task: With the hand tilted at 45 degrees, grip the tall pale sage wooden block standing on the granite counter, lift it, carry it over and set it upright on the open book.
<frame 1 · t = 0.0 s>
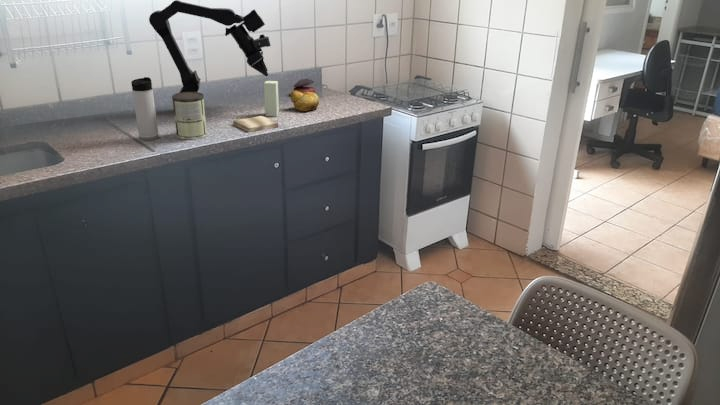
hand: (267, 73, 217), 15 cm above the countertop, tool tilted 35°, fingers open, 9 cm apart
sage block: (272, 114, 217), on the countertop
travel mug: (149, 138, 185), on the countertop
bread roll: (307, 109, 227), on the countertop
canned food: (304, 95, 250), on the countertop
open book: (255, 125, 202), on the countertop
coffee can: (192, 135, 189), on the countertop
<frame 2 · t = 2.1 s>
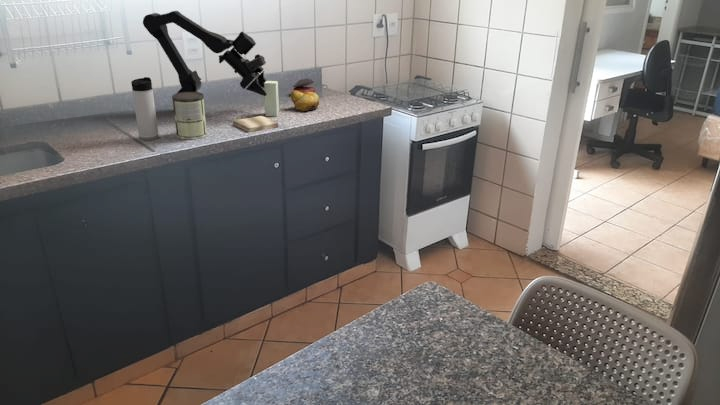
hand: (268, 92, 213), 9 cm above the countertop, tool tilted 45°, fingers open, 9 cm apart
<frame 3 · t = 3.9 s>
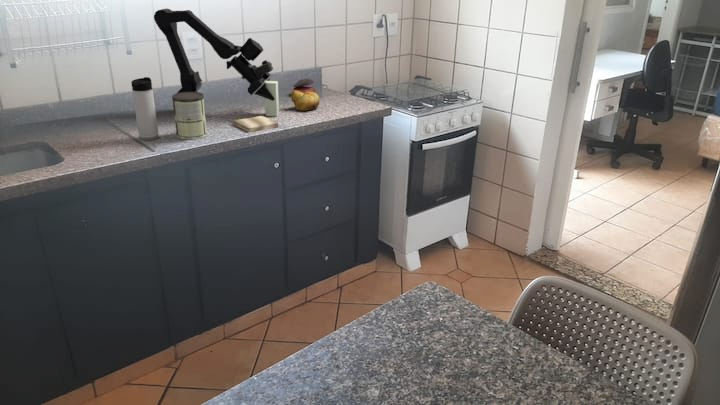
hand: (275, 98, 214), 7 cm above the countertop, tool tilted 45°, fingers closed on sage block, 4 cm apart
sage block: (272, 114, 217), on the countertop, touching gripper
everything else where it was.
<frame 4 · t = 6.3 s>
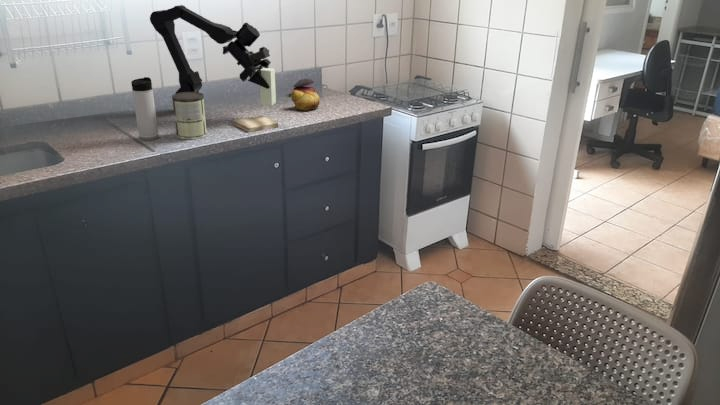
hand: (271, 86, 206), 12 cm above the countertop, tool tilted 45°, fingers closed on sage block, 4 cm apart
sage block: (268, 103, 209), point 6 cm above the countertop, touching gripper
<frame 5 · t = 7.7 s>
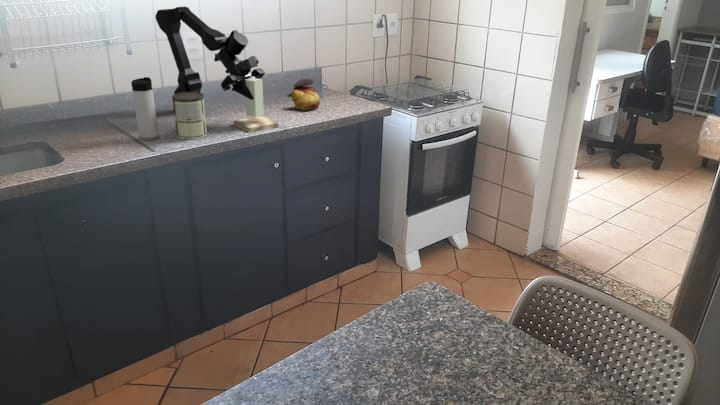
hand: (257, 97, 197), 11 cm above the countertop, tool tilted 45°, fingers closed on sage block, 4 cm apart
sage block: (255, 114, 200), point 4 cm above the countertop, touching gripper
when the fingers open (9 cm above the countertop, at t = 8.7 s): sage block drops 1 cm, resting on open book.
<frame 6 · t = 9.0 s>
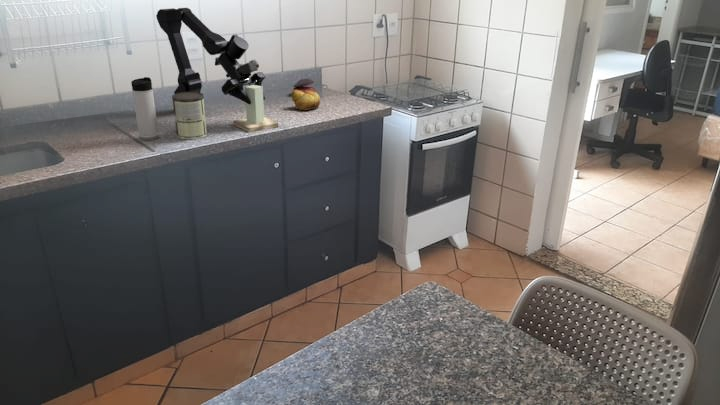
hand: (257, 101, 198), 9 cm above the countertop, tool tilted 45°, fingers open, 7 cm apart
sage block: (255, 121, 201), point 2 cm above the countertop, touching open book
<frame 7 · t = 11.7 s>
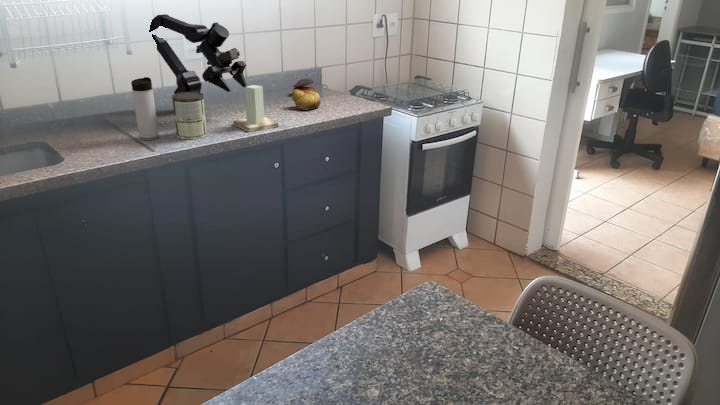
hand: (237, 89, 200), 13 cm above the countertop, tool tilted 45°, fingers open, 9 cm apart
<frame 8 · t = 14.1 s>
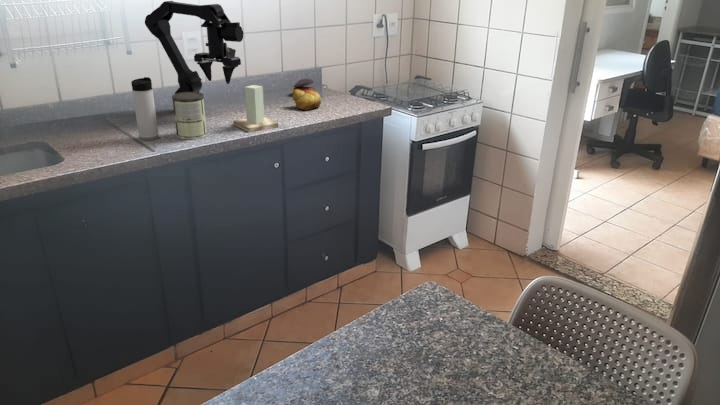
hand: (219, 82, 208), 13 cm above the countertop, tool pointing down, fingers open, 9 cm apart
at the end: sage block inside the target area on the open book (0.0 cm from its centre), point 1.5 cm above the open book's base; sage block tilted 0°; the gripper is holding nothing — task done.
